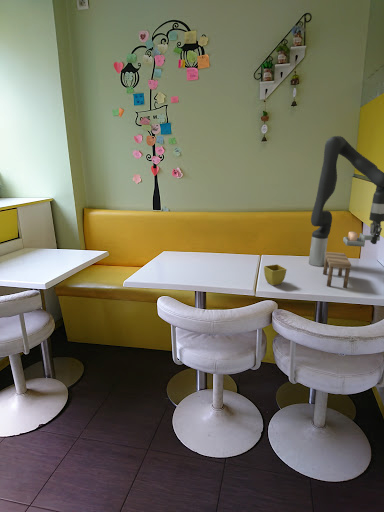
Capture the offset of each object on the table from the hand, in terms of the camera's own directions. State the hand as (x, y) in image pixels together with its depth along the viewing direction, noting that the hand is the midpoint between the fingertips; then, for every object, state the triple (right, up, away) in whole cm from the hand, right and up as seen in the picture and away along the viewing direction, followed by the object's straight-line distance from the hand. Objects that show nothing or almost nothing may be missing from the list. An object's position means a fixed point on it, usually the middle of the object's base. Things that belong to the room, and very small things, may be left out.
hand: (373, 243), depth 187 cm
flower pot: (-56, -22, -5) cm, 60 cm away
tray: (-6, -1, +2) cm, 6 cm away
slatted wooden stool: (-21, -21, 0) cm, 30 cm away
